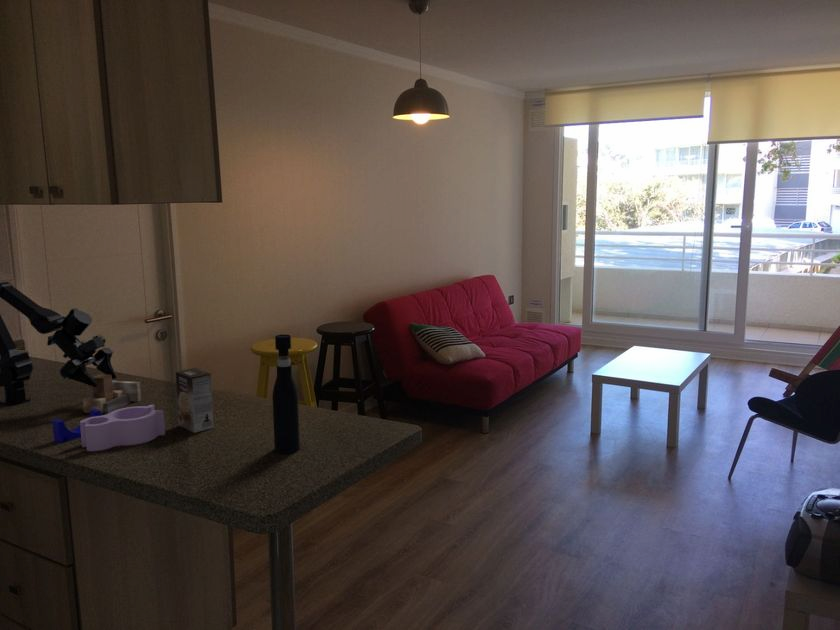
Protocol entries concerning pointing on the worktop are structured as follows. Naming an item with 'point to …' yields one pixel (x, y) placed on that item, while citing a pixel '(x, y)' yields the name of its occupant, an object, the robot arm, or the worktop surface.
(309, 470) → the worktop surface
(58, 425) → the cable clip
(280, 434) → the dark blue water bottle
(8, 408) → the worktop surface
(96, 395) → the plain brown block
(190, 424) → the coffee box
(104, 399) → the stepped pillar cluster
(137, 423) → the purple double cup holder
